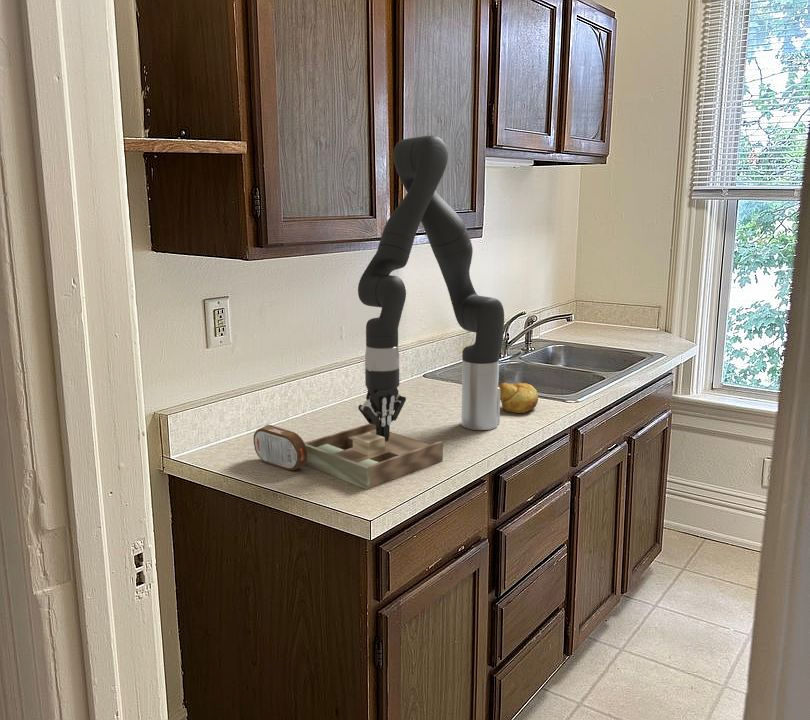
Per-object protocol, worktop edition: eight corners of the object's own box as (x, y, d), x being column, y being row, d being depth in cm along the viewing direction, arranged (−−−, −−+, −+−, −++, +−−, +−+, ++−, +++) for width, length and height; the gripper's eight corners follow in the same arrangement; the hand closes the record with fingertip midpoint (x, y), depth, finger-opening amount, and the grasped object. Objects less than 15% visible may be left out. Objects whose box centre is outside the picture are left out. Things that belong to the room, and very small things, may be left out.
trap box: (376, 439, 184) (376, 421, 183) (442, 461, 169) (442, 441, 168) (301, 463, 168) (300, 443, 167) (367, 489, 153) (366, 468, 152)
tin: (309, 471, 163) (307, 434, 161) (298, 475, 161) (297, 437, 159) (262, 456, 172) (261, 421, 171) (251, 460, 170) (250, 424, 168)
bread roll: (517, 401, 217) (518, 373, 215) (547, 406, 211) (548, 379, 209) (493, 411, 207) (493, 382, 205) (524, 417, 201) (525, 388, 199)
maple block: (369, 445, 171) (369, 432, 170) (384, 450, 167) (384, 437, 166) (352, 450, 167) (352, 437, 166) (368, 455, 164) (368, 442, 163)
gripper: (392, 358, 173) (392, 430, 177) (348, 367, 164) (349, 444, 168) (415, 363, 168) (415, 438, 172) (371, 373, 159) (372, 452, 163)
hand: (382, 440), depth 170 cm, fingers closed
